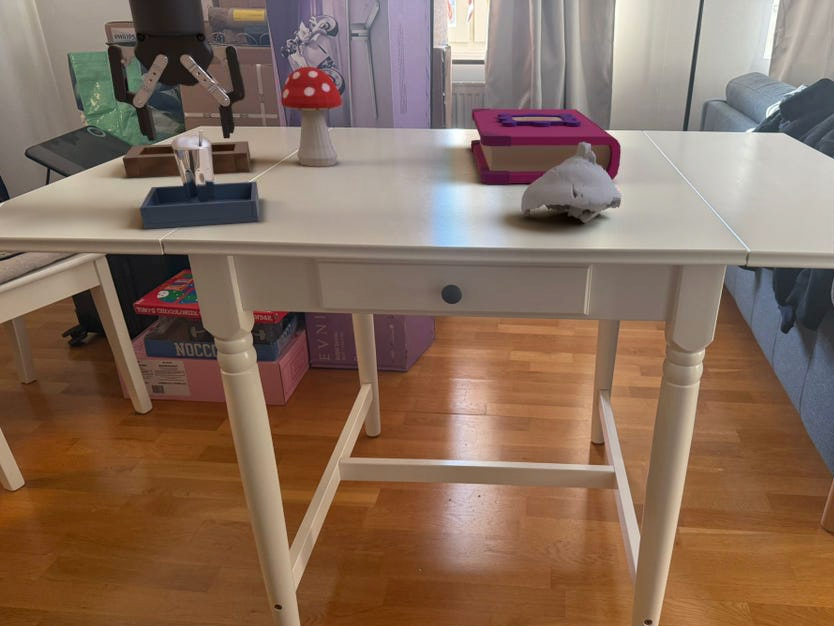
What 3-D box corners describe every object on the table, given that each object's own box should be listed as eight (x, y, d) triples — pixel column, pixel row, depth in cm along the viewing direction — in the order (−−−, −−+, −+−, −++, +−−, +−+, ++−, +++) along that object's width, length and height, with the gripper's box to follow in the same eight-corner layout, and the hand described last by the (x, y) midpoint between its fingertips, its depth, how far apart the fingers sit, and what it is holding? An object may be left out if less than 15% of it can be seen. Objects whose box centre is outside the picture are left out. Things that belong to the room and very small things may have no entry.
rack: (126, 178, 103) (122, 158, 102) (137, 164, 112) (133, 145, 110) (249, 172, 107) (246, 152, 106) (250, 159, 116) (247, 141, 114)
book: (581, 147, 128) (584, 105, 124) (617, 183, 103) (623, 131, 99) (470, 148, 126) (470, 105, 123) (481, 184, 102) (481, 132, 98)
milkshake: (198, 216, 83) (182, 133, 79) (178, 208, 87) (161, 127, 82) (232, 209, 86) (218, 128, 82) (211, 201, 90) (197, 123, 85)
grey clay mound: (563, 222, 94) (584, 144, 91) (629, 243, 86) (655, 159, 83) (501, 211, 86) (522, 126, 83) (568, 234, 78) (594, 140, 75)
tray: (144, 229, 81) (139, 207, 80) (156, 206, 90) (151, 187, 88) (258, 221, 84) (255, 200, 83) (259, 200, 93) (256, 181, 91)
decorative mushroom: (356, 160, 116) (348, 65, 109) (333, 170, 109) (323, 70, 102) (304, 156, 118) (293, 63, 111) (278, 166, 111) (265, 68, 104)
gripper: (232, -11, 80) (251, 131, 87) (99, -14, 76) (131, 134, 84) (229, -11, 73) (250, 142, 81) (84, -15, 70) (121, 146, 77)
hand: (190, 138), depth 82 cm, fingers open, 8 cm apart
